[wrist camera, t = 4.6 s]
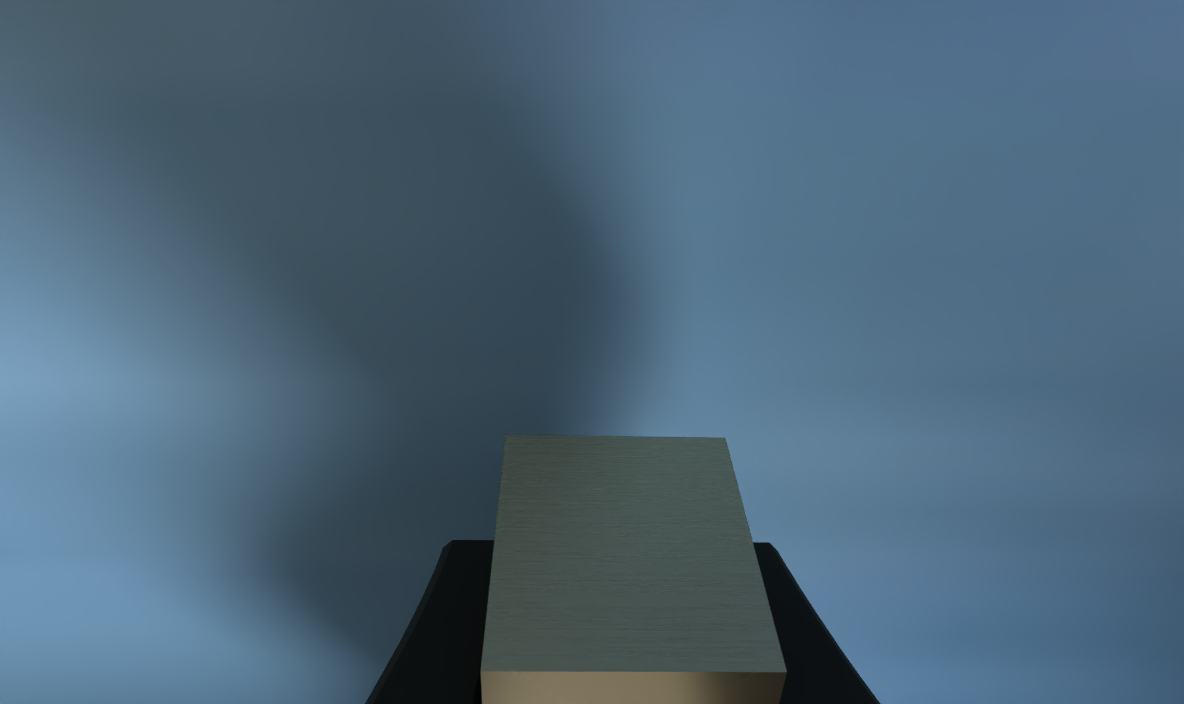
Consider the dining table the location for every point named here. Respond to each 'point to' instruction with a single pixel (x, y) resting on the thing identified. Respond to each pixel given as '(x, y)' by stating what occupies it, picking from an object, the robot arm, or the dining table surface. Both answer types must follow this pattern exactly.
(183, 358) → the dining table surface
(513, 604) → the gold trophy
